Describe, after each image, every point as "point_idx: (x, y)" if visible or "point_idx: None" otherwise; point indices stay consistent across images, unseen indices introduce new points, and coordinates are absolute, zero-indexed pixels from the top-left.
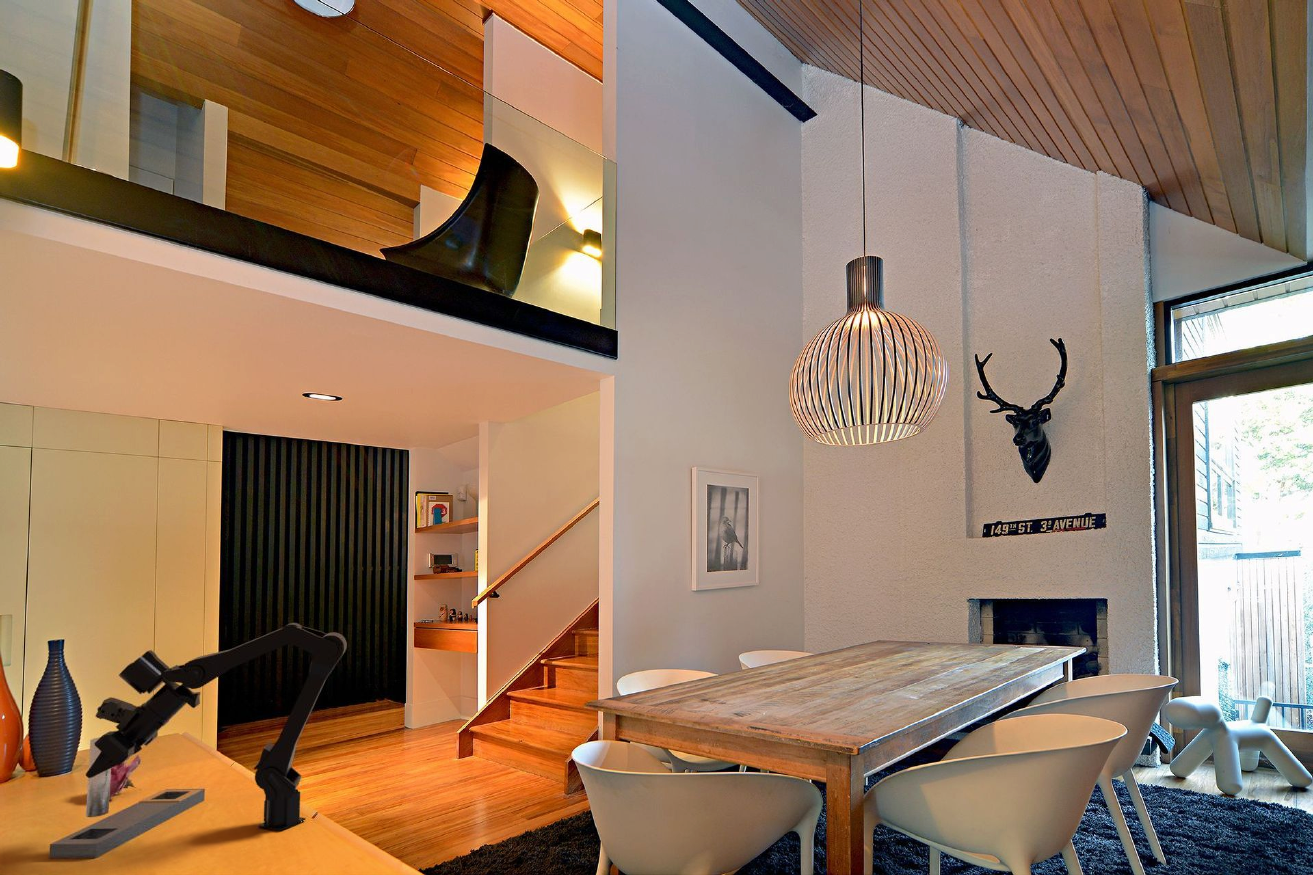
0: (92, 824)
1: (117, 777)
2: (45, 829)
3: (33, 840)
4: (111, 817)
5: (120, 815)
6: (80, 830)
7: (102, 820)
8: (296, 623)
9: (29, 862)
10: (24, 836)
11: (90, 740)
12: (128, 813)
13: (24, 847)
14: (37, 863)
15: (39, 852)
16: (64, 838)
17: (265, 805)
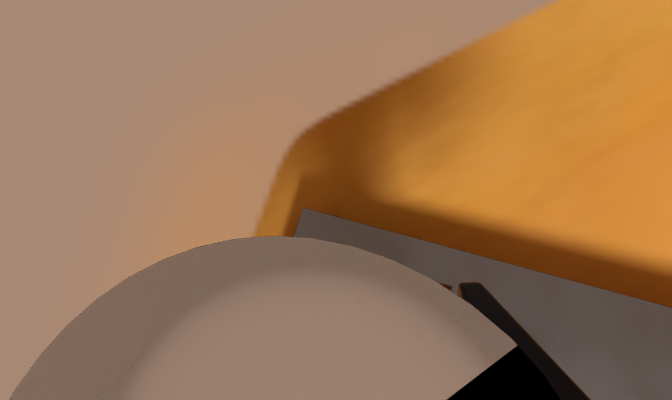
0: (514, 268)
1: None
2: (652, 53)
3: (524, 76)
4: (606, 315)
5: (632, 349)
6: (440, 251)
7: (565, 290)
8: None
9: (298, 173)
10: (579, 24)
11: (139, 273)
12: (660, 379)
13: (453, 85)
14: (280, 201)
15: (386, 158)
16: (353, 231)
17: None
